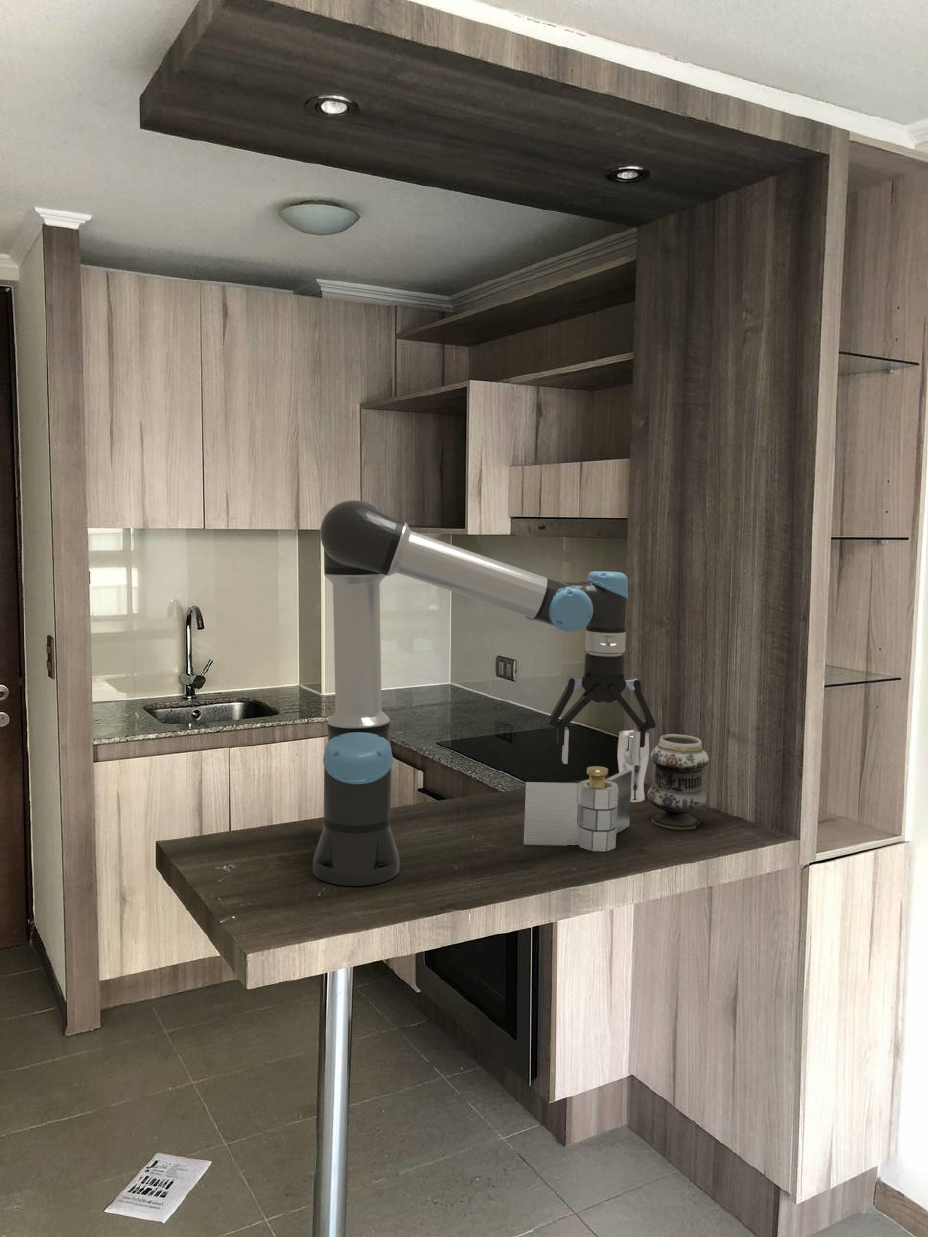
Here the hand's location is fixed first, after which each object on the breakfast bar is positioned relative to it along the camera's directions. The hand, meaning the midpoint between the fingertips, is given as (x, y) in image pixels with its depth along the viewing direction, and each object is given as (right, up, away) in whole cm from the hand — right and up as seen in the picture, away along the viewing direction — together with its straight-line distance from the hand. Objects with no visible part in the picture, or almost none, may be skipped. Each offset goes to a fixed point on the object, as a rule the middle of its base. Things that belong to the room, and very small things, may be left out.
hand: (599, 763), depth 188 cm
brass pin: (-1, -16, +2) cm, 16 cm away
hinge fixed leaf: (-6, -16, +2) cm, 17 cm away
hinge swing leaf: (+2, -15, +6) cm, 17 cm away
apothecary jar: (+18, -15, +17) cm, 29 cm away
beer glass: (+12, -13, +34) cm, 38 cm away
